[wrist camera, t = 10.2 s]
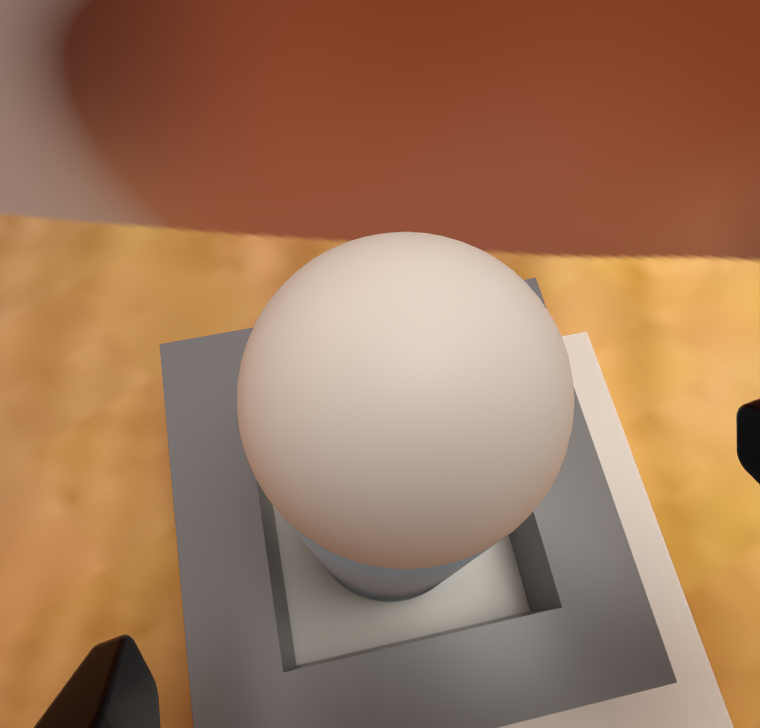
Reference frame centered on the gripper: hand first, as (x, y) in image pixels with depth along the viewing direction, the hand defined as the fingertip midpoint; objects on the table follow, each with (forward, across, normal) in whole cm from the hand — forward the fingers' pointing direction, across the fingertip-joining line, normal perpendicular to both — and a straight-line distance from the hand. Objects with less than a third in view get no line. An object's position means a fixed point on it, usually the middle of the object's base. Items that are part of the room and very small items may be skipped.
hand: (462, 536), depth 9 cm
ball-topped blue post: (+8, 0, +5) cm, 10 cm away
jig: (+7, -1, +8) cm, 11 cm away
